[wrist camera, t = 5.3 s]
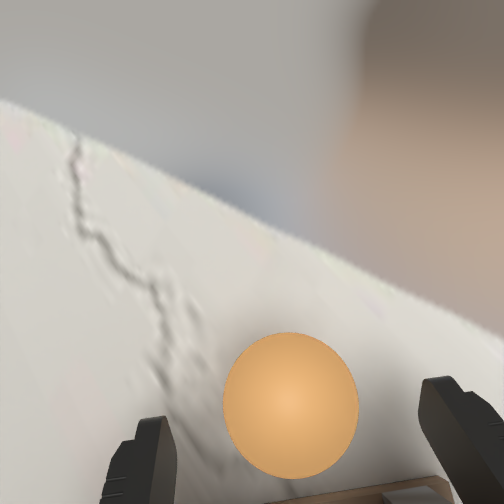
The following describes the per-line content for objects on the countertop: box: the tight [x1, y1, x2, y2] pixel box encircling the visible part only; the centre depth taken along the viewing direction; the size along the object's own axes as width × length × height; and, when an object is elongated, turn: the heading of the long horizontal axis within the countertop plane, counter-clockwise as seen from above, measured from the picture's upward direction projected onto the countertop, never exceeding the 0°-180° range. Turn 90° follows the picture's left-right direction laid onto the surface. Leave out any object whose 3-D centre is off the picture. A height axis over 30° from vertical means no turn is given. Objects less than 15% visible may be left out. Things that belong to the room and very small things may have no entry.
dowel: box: [223, 333, 359, 479], centre depth 13 cm, size 3×3×10 cm
